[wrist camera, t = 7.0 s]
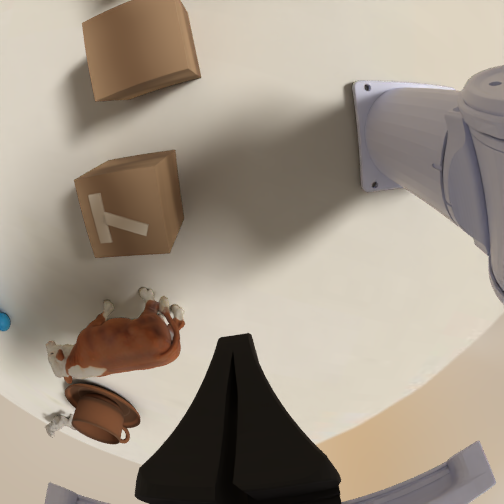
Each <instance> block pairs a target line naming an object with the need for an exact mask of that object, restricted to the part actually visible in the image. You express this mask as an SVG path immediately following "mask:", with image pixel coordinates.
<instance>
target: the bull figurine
mask: <svg viewBox="0 0 504 504" xmlns="http://www.w3.org/2000/svg"><path fill="white" fill-rule="evenodd" d="M139 295H140V296H141V297H142V299H144V300H145V310H144V311H143V313H142V314H141V315H140V317H139V318H138V319H133V320H131V319H128V318H113V319H109V320H107V321H106V319H107V317H108V315H109V314H110V313H111V312H112V311H114V307H113V304H112V303H110V301H108V300H105V301H104V302H103V303H104V311H103V313H101V314H99V315H98V316H97V318H96V319H95V320H94V321H92V322H91V323H90V324H89V325H88V326H87V327H86V328H85V329H84V330H82V331H81V333H80V334H79V336H78V338H77V341H76V344H75V345H69V344H66V345H63V346H62V345H56V344H55V342H54V341H49V342H48V344H46V348H47V352H48V360H49V363H50V365H51V367H52V369H53V372H54V374H55V376H57V377H59V378H61V377H64V379H65V381H66V382H67V383H68V384H71V383H72V377H74V378H76V379H85V378H88V377H102V376H106V375H110V374H114V373H121V372H128V371H133V370H145V369H151V368H155V367H159V366H164V365H167V364H169V363H171V362H173V361H174V360H175V359H176V358H177V357H178V356H179V354H180V349H181V346H180V334H179V330H180V329H181V328H183V327H184V325H185V322H184V320H183V314H184V312H185V311H184V310H183V309H182V308H180V307H179V306H178V305H172V306H171V310H172V312H173V314H174V318H173V319H172V318H171V316H170V312H169V303H168V298H166V297H165V296H162V297H161V298H160V300H159V302H156V301H155V299H154V293H153V292H152V290H151V289H150V290H147V289H146V288H140V289H139ZM159 311H160V312H161V313H162V314H163V315H164V316H165V317H166V319H167V321H168V322H169V324H168V325H166V324H165V322H164V319H163V317H162V316H161V314H158V315H157V312H159Z"/></svg>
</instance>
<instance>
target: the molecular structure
mask: <svg viewBox="0 0 504 504" xmlns="http://www.w3.org/2000/svg"><path fill="white" fill-rule="evenodd" d="M9 327H10V319H9V317H8V316H7V315H6V314H5V313H0V330H1V331H6V330H8V329H9Z"/></svg>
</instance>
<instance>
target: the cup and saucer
mask: <svg viewBox="0 0 504 504" xmlns="http://www.w3.org/2000/svg"><path fill="white" fill-rule="evenodd" d="M65 396H66V398H67V400H68V401H69V402H70V403H71V404H72V405H73V406H74V407H75V408H76V410H75V413H74V416H73V419H72V422H71V424H72V426H73V427H74V428H75V429H76V430H77V431H79V432H80V433H82V434H84V435H85V436H87V437H89V438H92V439H94V440H97V441H99V442H103V443H107V444H118V443H119V442H120V443H127V442H128V441H129V438H130V434H129V431H128V429H127V428H132V427H136V426H138V425H139V424H140V416H139V414H138V412H137V411H136V409H135V408H134V407H133V406H132V405H131V404H130V403H129V402H127V401H126V400H125V399H123V398H122V397H120V396H118V395H116V394H115V393H112V392H110V391H108V390H106V389H103V388H101V387H98V386H94V385H90V384H82V383H78V384H73V385H70V386H68V387H67V388H66V390H65ZM122 429H123V430H124V431H125V433H126V438H125V439H120V438H121V432H122Z"/></svg>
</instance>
